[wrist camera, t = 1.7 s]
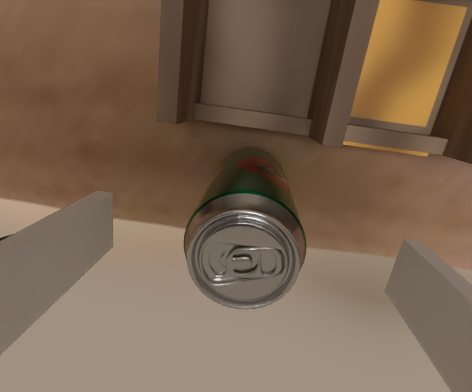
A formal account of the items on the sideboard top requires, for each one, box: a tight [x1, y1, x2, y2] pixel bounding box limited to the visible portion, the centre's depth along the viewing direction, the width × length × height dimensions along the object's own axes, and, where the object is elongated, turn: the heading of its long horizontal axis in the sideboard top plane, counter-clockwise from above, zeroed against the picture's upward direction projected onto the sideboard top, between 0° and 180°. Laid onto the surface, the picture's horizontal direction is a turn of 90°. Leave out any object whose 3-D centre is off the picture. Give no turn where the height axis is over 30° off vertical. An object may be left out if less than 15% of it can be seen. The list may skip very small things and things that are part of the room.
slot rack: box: [157, 0, 472, 164], centre depth 16 cm, size 26×10×7 cm, turn 82°
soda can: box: [184, 148, 306, 309], centre depth 16 cm, size 5×5×12 cm
